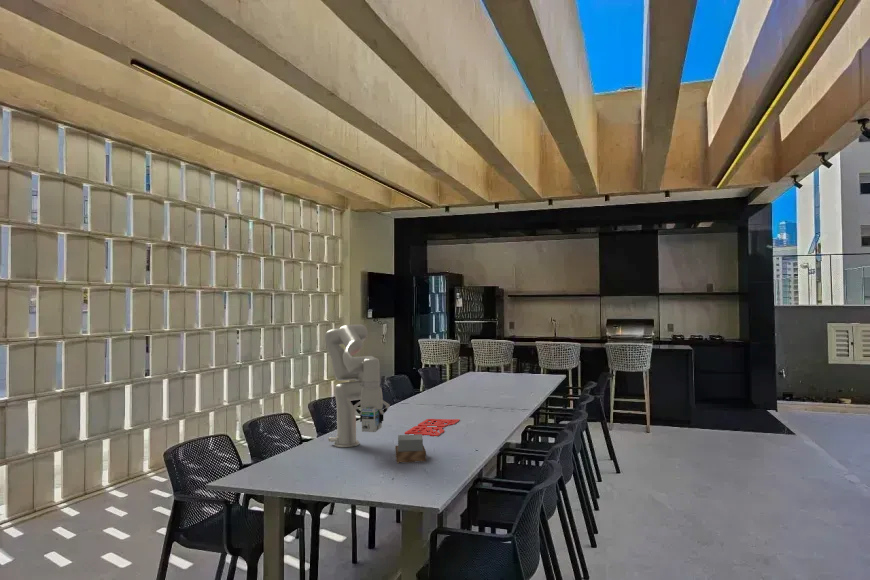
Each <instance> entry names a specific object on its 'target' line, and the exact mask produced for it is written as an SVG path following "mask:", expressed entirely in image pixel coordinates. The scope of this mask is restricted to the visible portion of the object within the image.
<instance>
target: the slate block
mask: <svg viewBox="0 0 870 580" xmlns="http://www.w3.org/2000/svg"><path fill="white" fill-rule="evenodd" d="M397 446H398V452H406V451H423V446H424V440H423V435H422V434H418V435H409V434H398V436H397Z"/></svg>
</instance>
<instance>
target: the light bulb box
mask: <svg viewBox="0 0 870 580" xmlns="http://www.w3.org/2000/svg"><path fill="white" fill-rule="evenodd" d="M380 414H381V412H380V411H379V410H377V408H376V407H373V408H362V422H361V432H364V433H376V432H378V431H379V430H380V429H381V428H382V427H383V426H382V424H383V422H382V423H380Z"/></svg>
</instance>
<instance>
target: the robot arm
mask: <svg viewBox="0 0 870 580" xmlns="http://www.w3.org/2000/svg"><path fill="white" fill-rule="evenodd" d="M368 334H369V333H368V329H367V326H365V325H364V324H362V323H361V324H360V323H359V324H345V325H342V326H340V328H339V327H338V328H332V329H328V330H327V331H326V332H325V335H324V341H325V347H326V348H327V352H328V353H329V356H330V359H331V364H332V369H333V375H334V378H335V380H336V381H339V383H338V384H336V385H335V386H334V396H335V403H336V405H335V406H336V434H337V435H336V436H334V437H328V440H327V441H328V442H331V443H333V442H334V443H333V445H334V447H336V448H352V447H353V448H354V447H356V446H359V445H360V441H359V440H357V416H356V414H357V413H358V415H360V416H359V418H360V419H359V422H361V423H362V408H373V407H376V408H377V410H379V411H380V412H381V414H380V423H382V424H383V421H384V415H385V413H386V412H387V411H388V410H389V408H390V406H391V405H390V403H388V402H386V401H385V400H384V399H383V398H384V397H383V391H382V390H383V389H382V387H381V385H380V384H381V382H380V381H381V380H380V377H381V375H380V374H381V371H380V370H381V368H380V367H381V366H380V360H379V358H376V357H375V356H373V355H361V356H354V355H356V354H358V353H359V352H361V350H362V349H363V347H364V343H363V342H364V341H366V339H368ZM340 345H343V346H344V347H345V348H343V347H342V346H340ZM359 400H360V401H359ZM351 401H358V402H356V403H355V404H354V405H353V402H351ZM358 406H360V409H359V407H358ZM384 406H385V407H384Z"/></svg>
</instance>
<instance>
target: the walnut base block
mask: <svg viewBox="0 0 870 580" xmlns="http://www.w3.org/2000/svg"><path fill="white" fill-rule="evenodd" d="M394 450H395V451H394V452H395V454H394V455H395V459H396V463H397V464H399V463H398V462H405V463H416V462H415V461H423V462H427V451H426V448H425V446H424V445H423V451H406V452H398V445H395V448H394Z"/></svg>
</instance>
